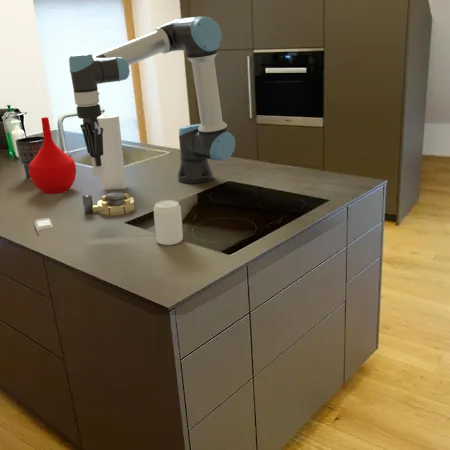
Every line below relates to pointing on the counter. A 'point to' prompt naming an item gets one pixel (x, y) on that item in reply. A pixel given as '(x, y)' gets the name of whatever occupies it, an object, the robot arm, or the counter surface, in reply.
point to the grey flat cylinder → (115, 198)
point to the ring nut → (108, 206)
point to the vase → (51, 166)
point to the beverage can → (168, 222)
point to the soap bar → (42, 224)
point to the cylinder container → (112, 153)
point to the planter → (28, 150)
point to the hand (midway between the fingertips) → (98, 174)
